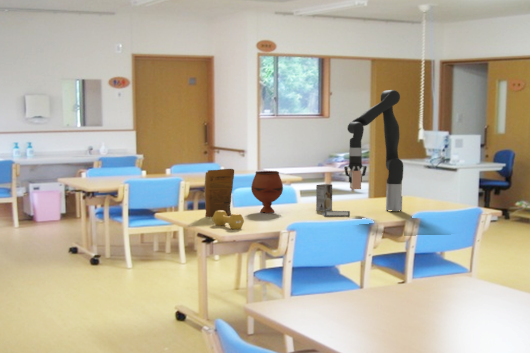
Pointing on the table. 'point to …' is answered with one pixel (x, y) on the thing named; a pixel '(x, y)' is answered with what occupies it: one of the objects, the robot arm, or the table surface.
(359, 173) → the shelf carton
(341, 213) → the shelf board
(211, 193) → the pancake mix bag
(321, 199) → the coffee box
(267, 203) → the goblet
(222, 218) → the dumbbell
